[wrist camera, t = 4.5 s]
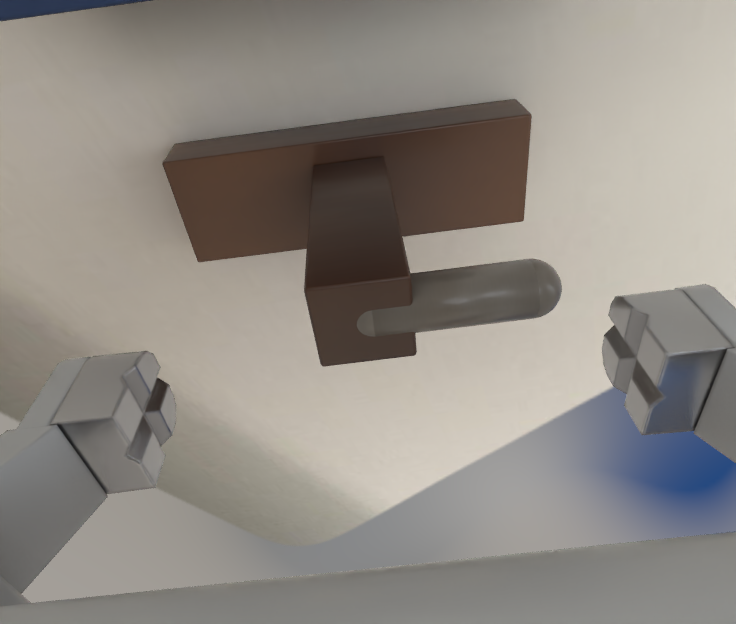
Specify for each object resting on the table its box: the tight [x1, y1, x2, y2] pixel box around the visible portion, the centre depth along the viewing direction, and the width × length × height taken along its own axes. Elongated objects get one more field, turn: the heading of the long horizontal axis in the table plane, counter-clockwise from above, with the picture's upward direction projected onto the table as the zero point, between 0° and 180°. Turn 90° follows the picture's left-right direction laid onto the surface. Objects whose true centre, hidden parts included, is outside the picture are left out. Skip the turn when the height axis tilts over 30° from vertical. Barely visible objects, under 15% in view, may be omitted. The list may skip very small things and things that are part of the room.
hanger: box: [163, 99, 562, 366], centre depth 13 cm, size 10×3×8 cm, turn 97°
